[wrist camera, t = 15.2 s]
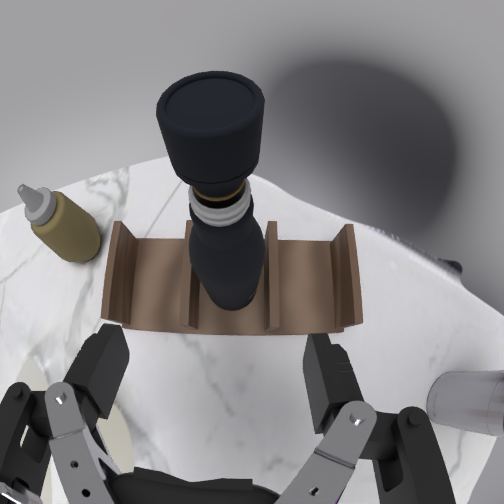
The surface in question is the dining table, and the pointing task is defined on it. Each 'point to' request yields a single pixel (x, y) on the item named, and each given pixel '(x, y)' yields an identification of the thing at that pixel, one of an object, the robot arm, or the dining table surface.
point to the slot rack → (261, 307)
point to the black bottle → (218, 177)
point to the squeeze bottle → (61, 224)
